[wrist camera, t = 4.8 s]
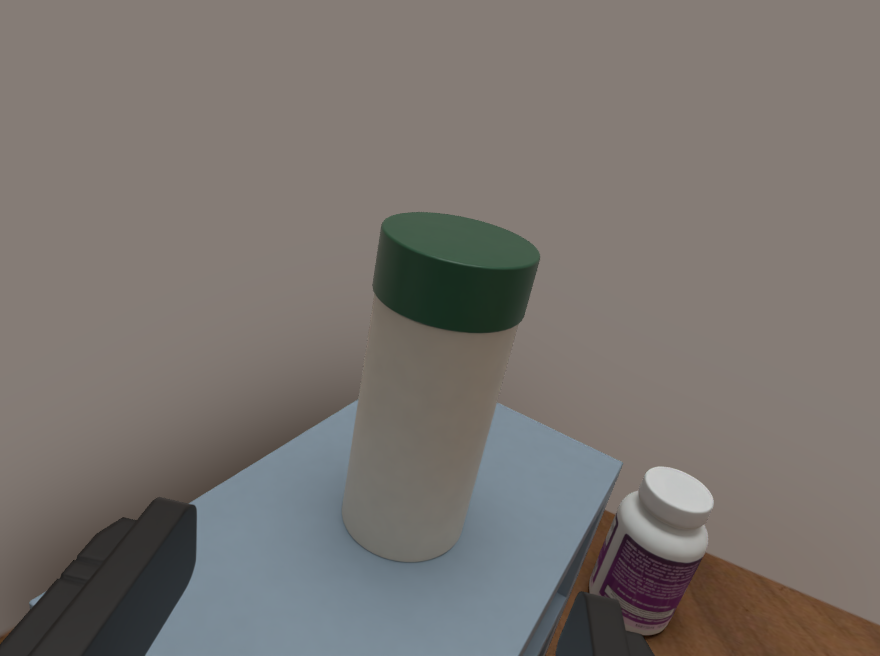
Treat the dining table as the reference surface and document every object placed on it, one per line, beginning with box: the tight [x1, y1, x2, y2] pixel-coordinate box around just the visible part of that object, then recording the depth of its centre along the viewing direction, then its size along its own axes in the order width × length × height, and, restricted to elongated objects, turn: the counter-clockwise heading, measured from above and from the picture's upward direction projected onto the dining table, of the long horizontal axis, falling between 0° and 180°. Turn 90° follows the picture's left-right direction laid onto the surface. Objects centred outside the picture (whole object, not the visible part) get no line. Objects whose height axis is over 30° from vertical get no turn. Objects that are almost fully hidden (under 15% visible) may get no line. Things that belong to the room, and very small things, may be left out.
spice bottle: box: [342, 212, 540, 562], centre depth 20 cm, size 5×5×11 cm
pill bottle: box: [589, 467, 714, 635], centre depth 36 cm, size 5×5×10 cm
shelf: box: [29, 400, 623, 656], centre depth 25 cm, size 12×20×14 cm, turn 149°
